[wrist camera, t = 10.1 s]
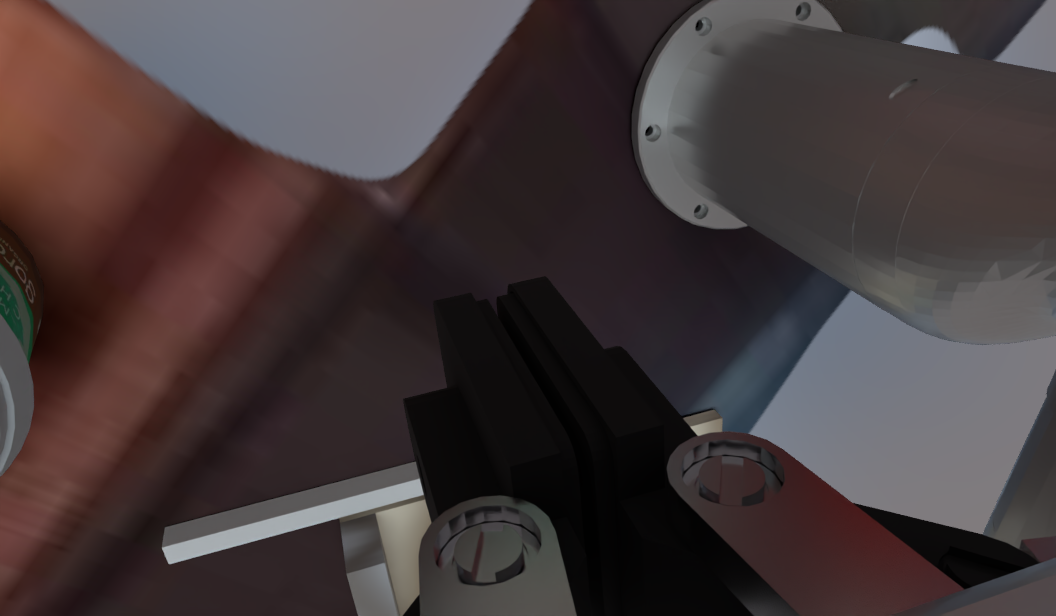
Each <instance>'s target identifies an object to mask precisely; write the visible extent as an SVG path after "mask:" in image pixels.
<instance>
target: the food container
mask: <svg viewBox="0 0 1056 616" xmlns="http://www.w3.org/2000/svg"><path fill="white" fill-rule="evenodd" d="M42 317H43V283H42V280H41V278H40V275H39V272H38V270H37V267H36V264H35V262H34V259H33V256H32V255H31V253H30V252H29V251H28V249H27V248H26V247H25V246H24V244H23V243H22V242H21V241H20V239H19V238H18V237H17V236H16V234H15V233H14V232H13V231H12V230H10V229H9V228H8V227H7V226H6V225H5V224H4V223H2V222H1V221H0V476H1V475H2V474H3V473H4V472H5V471H6V470H7V469H8V468H9V466H10V465H11V463H12V462H13V460H14V459H15V457H16V456H17V454H18V453H19V452H20V450H21V448H22V446H23V444H24V441H25V439H26V436H27V434H28V432H29V429H30V425H31V419H32V414H33V409H34V394H33V381H32V377H31V373H30V369H29V360H30V357H31V354H32V350H33V347H34V343H35V340H36V337H37V333H38V330H39V327H40V323H41V320H42Z"/></svg>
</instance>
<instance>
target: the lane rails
mask: <svg viewBox="0 0 1056 616" xmlns="http://www.w3.org/2000/svg"><path fill="white" fill-rule="evenodd" d="M421 495H424V494H423V490H422V486H421V482H420V478H419V473H418V469H417V465H416V462H412V463H408V464H404V465H400V466H397V467H393V468H389V469H385V470H381V471H377V472H374V473H370V474H366V475H362V476H358V477H355V478H351V479H347V480H343V481H339V482H336V483H332V484H328V485H324V486H320V487H317V488H313V489H309V490H305V491H301V492H298V493H294V494H290V495H286V496H282V497H279V498H275V499H271V500H267V501H263V502H259V503H256V504H252V505H248V506H244V507H240V508H237V509H233V510H229V511H225V512H221V513H218V514H214V515H210V516H206V517H202V518H199V519H195V520H191V521H187V522H183V523H180V524H176V525H172V526H168V527H165V531H164V538H163V544H162V549H163V552H164V554H165V556H166V559H167V561H168V563H169V564H172V563H176V562H179V561H183V560H187V559H190V558H194V557H198V556H201V555H205V554H209V553H212V552H216V551H220V550H223V549H227V548H231V547H234V546H238V545H242V544H245V543H249V542H253V541H256V540H260V539H264V538H267V537H271V536H275V535H278V534H282V533H286V532H289V531H293V530H297V529H300V528H304V527H308V526H311V525H315V524H319V523H322V522H326V521H330V520H333V519H337V518H341V517H344V516H348V515H352V514H355V513H359V512H363V511H366V510H370V509H374V508H377V507H381V506H385V505H388V504H392V503H396V502H399V501H403V500H407V499H410V498H414V497H418V496H421Z"/></svg>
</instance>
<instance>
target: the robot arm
mask: <svg viewBox="0 0 1056 616" xmlns="http://www.w3.org/2000/svg"><path fill="white" fill-rule="evenodd" d="M697 21H698V22H699V25H698V27H697V29H695V27H696V23H697ZM648 127H650V128H649V131H648V132H647V133H646V134H645V132H646V129H647V128H648ZM631 138H632V144H633V149H634V155H635V160H636V163H637V165H638V168H639V171H640V173H641V176H642V178H643V180H644V182H645V183H646V185H647V186H648V188H649V189H650V191H651V192H652V194H653V195H654V196H655V197H656V198H657V199H658V200H659V201H660V202H661V203H662V204H663V205H664V206H665V207H666V208H667V209H669V210H670V211H672V212H673V213H675V214H676V215H677V216H679V217H680V218H682V219H684V220H686V221H688V222H690V223H692V224H694V225H697V226H702V227H707V228H712V229H737V228H742V227H747V226H750V227H752V228H753V229H755V230H756V231H758V232H760V233H761V234H763V235H764V236H766V237H768V238H769V239H771V240H772V241H774V242H776V243H777V244H779V245H780V246H782V247H784V248H785V249H787V250H788V251H790V252H792V253H793V254H795V255H796V256H798V257H800V258H801V259H803V260H804V261H806V262H807V263H809V264H811V265H812V266H814V267H815V268H817V269H819V270H820V271H822V272H823V273H825V274H827V275H828V276H830V277H831V278H833V279H835V280H836V281H838V282H839V283H841V284H843V285H844V286H846V287H847V288H849V289H851V290H852V291H854V292H855V293H857V294H859V295H861V296H862V297H863V298H865V299H867V300H868V301H870V302H872V303H873V304H875V305H876V306H878V307H879V308H881V309H883V310H885V311H886V312H888V313H890V314H892V315H893V316H895V317H896V318H898V319H900V320H901V321H903V322H904V323H906V324H908V325H910V326H912V327H914V328H916V329H918V330H920V331H922V332H924V333H926V334H929V335H932V336H935V337H938V338H941V339H944V340H948V341H953V342H960V343H967V344H977V345H979V344H980V345H987V344H988V345H989V344H1009V343H1017V342H1023V341H1030V340H1036V339H1041V338H1046V337H1051V336H1056V73H1055V72H1050V71H1044V70H1039V69H1034V68H1028V67H1023V66H1017V65H1012V64H1007V63H1001V62H996V61H991V60H986V59H981V58H975V57H970V56H965V55H960V54H954V53H949V52H944V51H938V50H933V49H928V48H923V47H918V46H912V45H907V44H902V43H897V42H892V41H886V40H881V39H876V38H871V37H865V36H860V35H855V34H850V33H844V32H843V31H842V29H841V27H840V25H839V24H838V23H837V21H836V20H835V18H834V17H833V16H832V14H831V13H830V11H829V10H827V9H826V8H825V7H824V6H823V5H822V4H821V3H819V2H818V1H817V0H703V1H701V2H700V3H698V4H696V5H695V6H693V7H692V8H691V9H689V10H688V11H687V12H686V13H685V14H684V15H683V16H682V17H680V18H679V19H678V20H677V21H676V22H675V23H674V24H673V25H672V26H671V28H670V29H669V30H668V31H667V33H666V34H665V35H664V36H663V38H662V39H661V40H660V41H659V43H658V44H657V46H656V47H655V49H654V51H653V53H652V55H651V56H650V58H649V60H648V62H647V64H646V65H645V68H644V70H643V73H642V76H641V79H640V81H639V84H638V87H637V90H636V94H635V100H634V105H633V110H632V135H631ZM433 305H434V314H435V320H436V326H437V331H438V337H439V343H440V349H441V354H442V360H443V366H444V372H445V377H446V383H447V388H445V389H441V390H437V391H433V392H429V393H425V394H421V395H417V396H413V397H409V398H405V399H403V402H404V408H405V413H406V418H407V423H408V428H409V433H410V438H411V442H412V447H413V452H414V456H415V461H416V465H417V469H418V473H419V478H420V482H421V486H422V490H423V494H424V497H425V501H426V505H427V508H428V512H429V516H430V519H431V524H430V526H429V527H428V529H427V531H426V532H425V534H424V536H423V537H422V539H421V543H420V549H419V555H418V561H419V595H418V596H417V598H416V599H415V600H414V602H413V603H412V604H411V605H410V607H409V608H408V609H407V611H406V612H405V613H404V614H403V616H1056V370H1055V373H1054V375H1053V378H1052V380H1051V382H1050V384H1049V386H1048V389H1047V397H1046V399H1045V401H1044V403H1043V405H1042V408H1041V410H1040V412H1039V414H1038V416H1037V418H1036V420H1035V423H1034V424H1033V426H1032V429H1031V431H1030V433H1029V435H1028V437H1027V439H1026V441H1025V443H1024V445H1023V448H1022V450H1021V452H1020V454H1019V456H1018V458H1017V460H1016V462H1015V464H1014V467H1013V469H1012V471H1011V473H1010V475H1009V477H1008V479H1007V481H1006V483H1005V486H1004V488H1003V490H1002V492H1001V494H1000V496H999V498H998V500H997V503H996V506H995V508H994V510H993V512H992V514H991V516H990V519H989V521H988V523H987V525H986V527H985V530H984V532H983V535H982V534H978V533H974V532H970V531H965V530H962V529H958V528H953V527H949V526H945V525H941V524H936V523H933V522H929V521H924V520H920V519H917V518H912V517H908V516H904V515H900V514H896V513H892V512H888V511H884V510H880V509H875V508H872V507H867V506H863V505H859V504H855V503H852V502H850V501H849V500H848V499H847V498H845V497H844V496H843V495H841V494H840V493H839V492H838V491H836V490H835V489H834V488H832V487H831V486H830V485H829V484H827V483H826V482H825V481H823V480H822V479H821V478H819V477H818V476H817V475H815V474H814V473H813V472H812V471H810V470H809V469H808V468H806V467H805V466H804V465H803V464H801V463H800V462H799V461H797V460H796V459H795V458H793V457H792V456H791V455H790V454H788V453H787V452H785V451H784V450H783V449H782V448H780V447H778V446H776V445H774V444H773V443H771V442H770V441H768V440H766V439H763V438H760V437H756V436H753V435H750V434H745V433H737V432H730V431H728V432H712V433H707V434H703V435H700V436H698V435H697V434H696V433H695V432H694V431H693V430H692V428H691V427H690V426H689V425H688V424H687V422H686V421H685V420H684V419H683V418H682V416H681V415H680V414H679V413H678V412H677V411H676V409H675V408H674V407H673V406H672V405H671V403H670V402H669V401H668V400H667V399H666V398H665V396H664V395H663V394H662V393H661V392H660V390H659V389H658V388H657V387H656V386H655V384H654V383H653V382H652V381H651V380H650V379H649V377H648V376H647V375H646V374H645V373H644V371H643V370H642V369H641V368H640V367H639V366H638V364H637V363H636V362H635V361H634V360H633V358H632V357H631V356H630V355H629V354H628V353H627V351H626V350H624V349H623V348H622V347H620V346H615V347H611V348H607V349H603V347H602V346H601V345H600V344H599V342H598V341H597V340H596V339H595V337H594V336H593V335H592V334H591V332H590V331H589V330H588V329H587V327H586V326H585V325H584V323H583V322H582V321H581V320H580V318H579V317H578V316H577V315H576V313H575V312H574V311H573V310H572V308H571V307H570V306H569V305H568V303H567V302H566V301H565V300H564V298H563V297H562V296H561V295H560V293H559V292H558V291H557V290H556V288H555V287H554V286H553V285H552V283H551V282H550V281H549V280H548V278H546V277H545V276H544V277H540V278H535V279H531V280H526V281H522V282H517V283H513V284H509V285H508V295H503V296H499V297H497V312H498V316H497V315H496V313H495V311H494V310H493V308H492V306H491V304H490V303H489V301H488V300H487V299H485V300H481V301H475V299H474V297H473V295H472V294H471V293H468V294H463V295H459V296H454V297H450V298H445V299H441V300H436V301H434V303H433Z"/></svg>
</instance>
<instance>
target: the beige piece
mask: <svg viewBox="0 0 1056 616" xmlns="http://www.w3.org/2000/svg"><path fill="white" fill-rule="evenodd" d="M683 419H684V420H685V421H686V422H687V424H688V425H689V426H690V427H691V428H692V430H693V431H694V432H695V433H696V434H697V435H698V436H700V435H703V434H707V433H712V432H722V417H721V416H720V415H719V414H718V413H717V412H716V411H715V410H711V411H707V412H703V413H700V414H696V415H692V416H689V417H685V418H683ZM339 519H340V526H341V534H342V542H343V550H344V558H345V566H346V573H347V577H348V581H349V584H350V588H351V592H352V595H353V599H354V602H355V606H356V609H357V613H358V616H403V614H404V613H405V612H406V611H407V609H408V608H409V607H410V605H411V604H412V603H413V602H414V600H415V599H416V598H417V596H418V595H419V561H418V555H419V549H420V543H421V539H422V537H423V536H424V534H425V532H426V531H427V529H428V527H429V526H430V524H431V519H430V516H429V512H428V508H427V505H426V501H425V497H424V495H421V496H418V497H414V498H410V499H407V500H403V501H399V502H396V503H392V504H388V505H385V506H381V507H377V508H374V509H370V510H366V511H363V512H359V513H355V514H352V515H348V516H344V517H341V518H339Z"/></svg>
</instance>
